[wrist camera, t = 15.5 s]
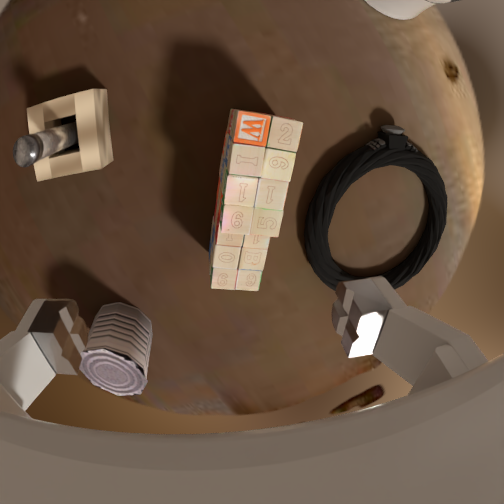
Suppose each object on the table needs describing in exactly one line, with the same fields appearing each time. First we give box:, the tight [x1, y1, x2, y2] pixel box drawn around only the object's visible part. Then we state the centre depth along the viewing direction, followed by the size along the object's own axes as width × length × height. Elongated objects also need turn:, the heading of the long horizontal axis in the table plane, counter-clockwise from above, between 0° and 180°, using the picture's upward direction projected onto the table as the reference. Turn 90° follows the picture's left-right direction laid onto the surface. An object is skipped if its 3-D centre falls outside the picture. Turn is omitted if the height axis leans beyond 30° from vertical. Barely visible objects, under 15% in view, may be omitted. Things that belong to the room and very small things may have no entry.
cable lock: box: [304, 125, 447, 291], centre depth 44 cm, size 28×4×30 cm
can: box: [79, 302, 152, 396], centre depth 44 cm, size 11×11×12 cm
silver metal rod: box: [13, 122, 79, 167], centre depth 27 cm, size 3×3×14 cm
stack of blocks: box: [209, 109, 303, 291], centre depth 35 cm, size 21×6×12 cm, turn 170°
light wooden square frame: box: [27, 89, 113, 181], centre depth 31 cm, size 10×10×5 cm
